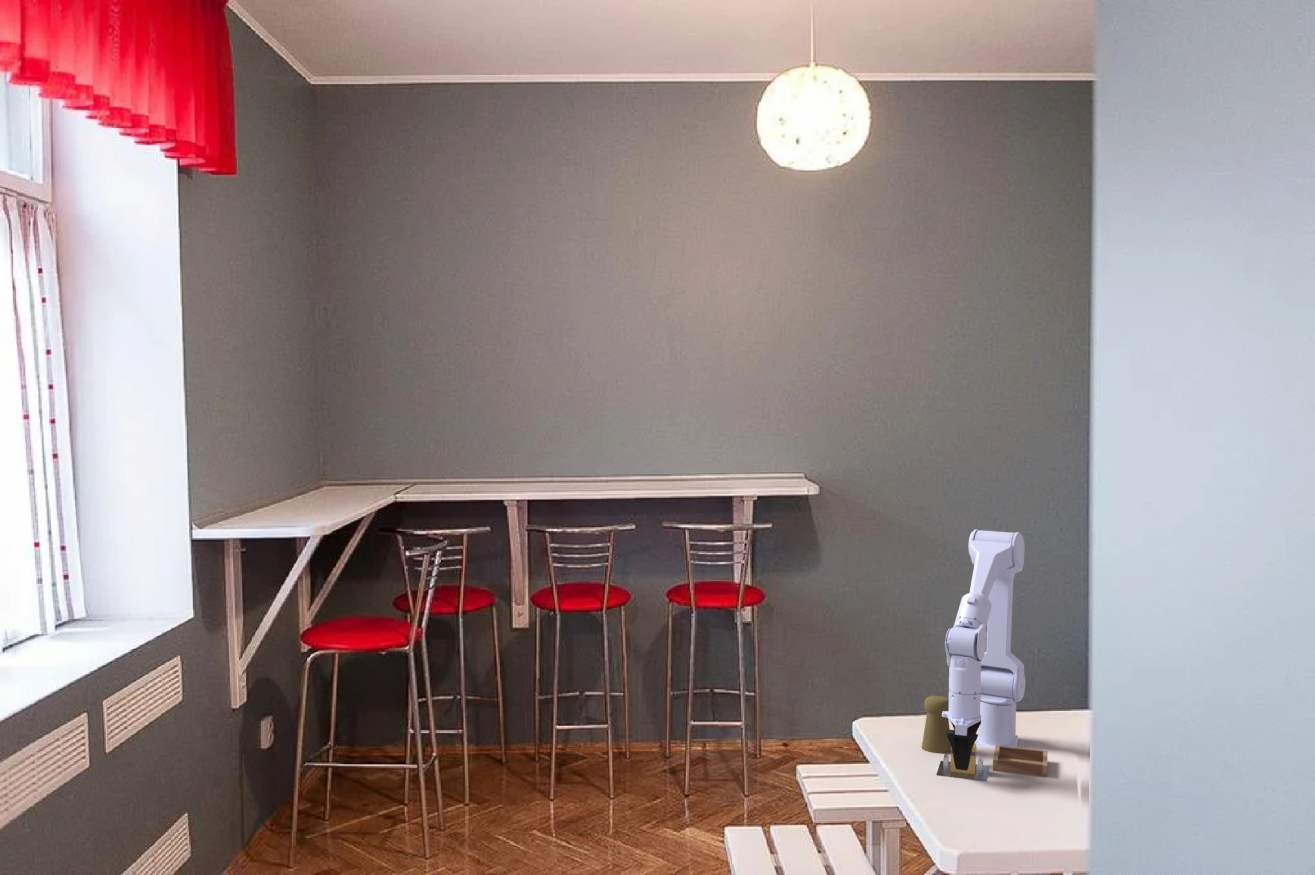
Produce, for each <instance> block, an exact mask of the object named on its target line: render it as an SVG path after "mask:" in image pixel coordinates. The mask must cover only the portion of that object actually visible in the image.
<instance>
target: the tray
mask: <svg viewBox="0 0 1315 875" xmlns="http://www.w3.org/2000/svg"><path fill="white" fill-rule="evenodd" d="M994 747H995V748H994V751H993V757H992V772H993V771H994V772H999V773H1000V772H1001V773H1009V774H1016V775H1017V774H1018V775H1019V774H1020V775H1025V776H1026V775H1028V776H1034V777H1035V776H1036V777H1043V778H1044V777H1045V778H1047V777H1048V750H1042V749H1041V750H1040V749H1032V748H1023V747H1017V748H1016V747H1007V746H997V745H996V746H994Z"/></svg>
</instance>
